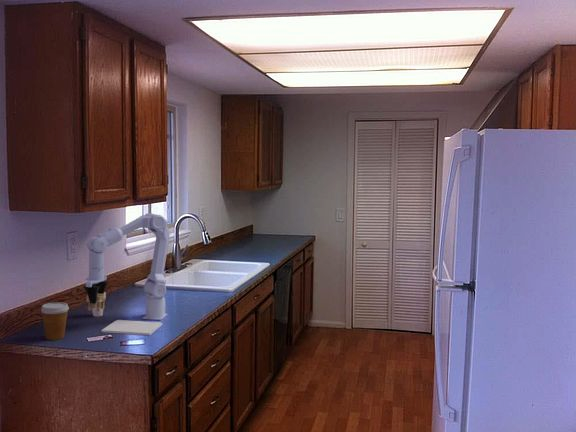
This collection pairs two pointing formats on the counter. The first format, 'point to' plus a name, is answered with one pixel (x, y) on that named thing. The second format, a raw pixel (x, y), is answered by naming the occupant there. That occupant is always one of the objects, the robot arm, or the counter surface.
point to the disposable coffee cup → (54, 320)
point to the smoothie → (97, 313)
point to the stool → (99, 301)
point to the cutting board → (132, 327)
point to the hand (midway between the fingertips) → (96, 301)
